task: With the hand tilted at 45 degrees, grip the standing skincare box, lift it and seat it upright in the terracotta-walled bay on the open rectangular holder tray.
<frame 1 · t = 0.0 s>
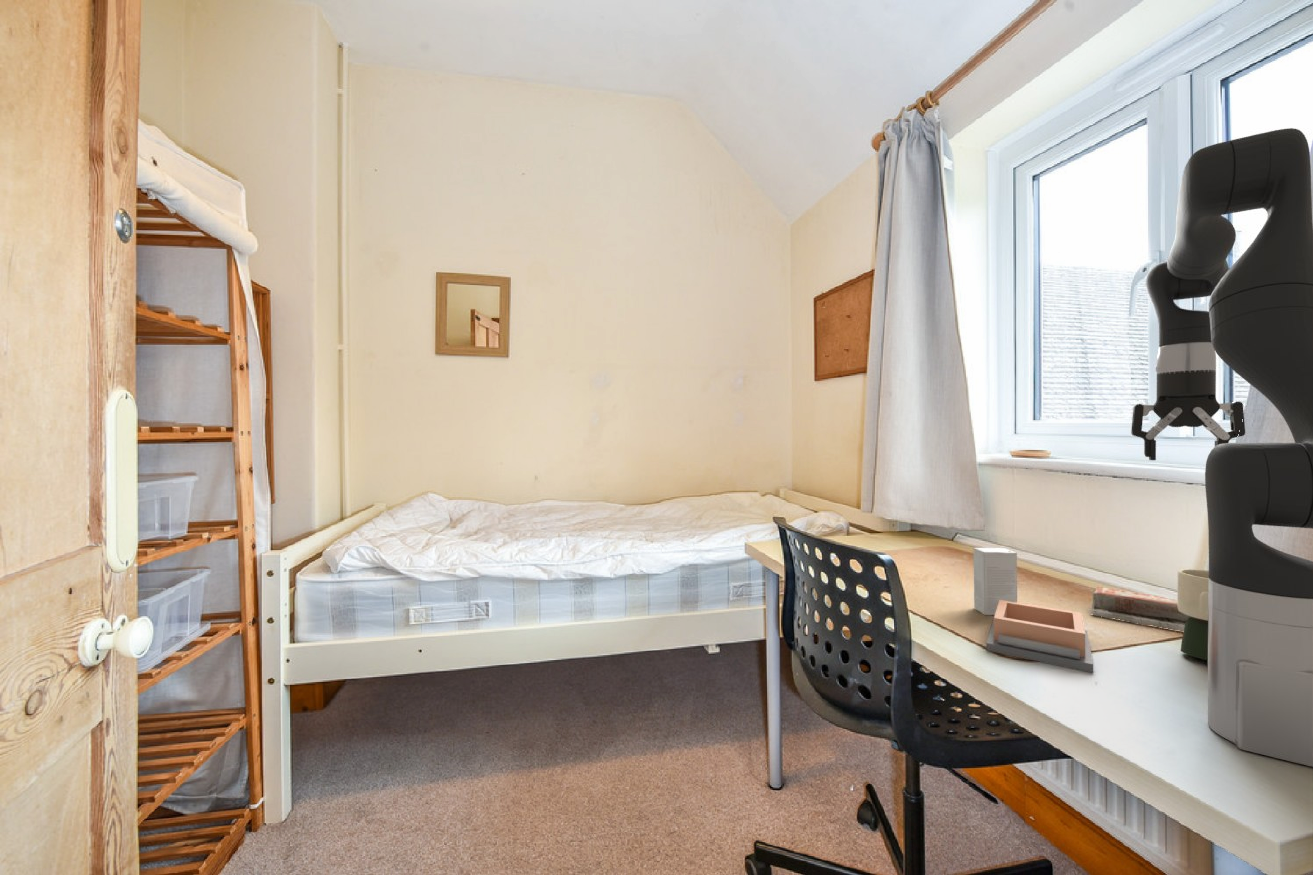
hand: (1184, 460, 95), 29 cm above the table, tool pointing down, fingers open, 8 cm apart
packaged product: (1155, 624, 97), on the table
skincare box: (994, 613, 101), on the table
open rectangular holder tray: (1038, 643, 86), on the table
character mug: (1209, 661, 80), on the table
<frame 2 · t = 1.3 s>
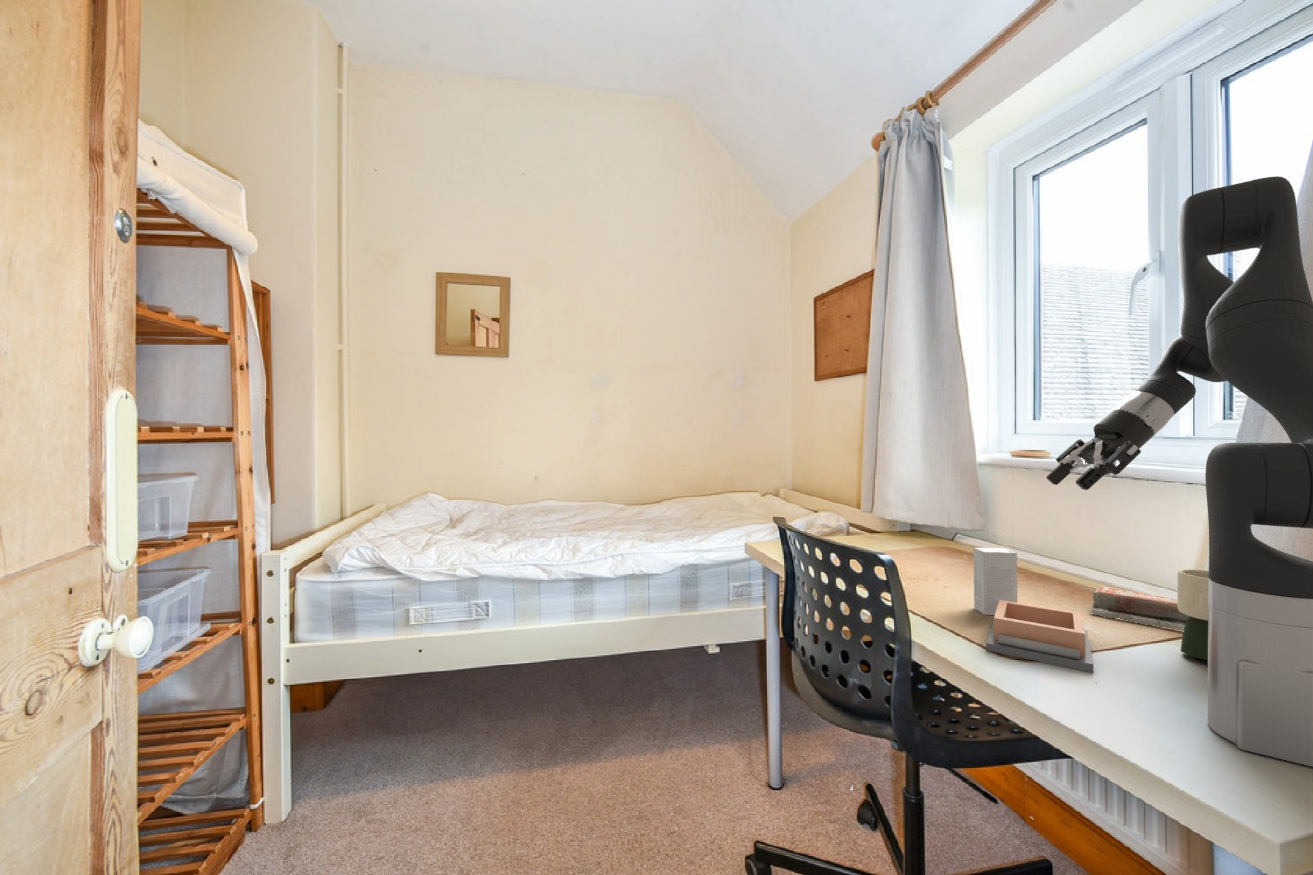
hand: (1065, 484, 98), 25 cm above the table, tool tilted 45°, fingers open, 8 cm apart
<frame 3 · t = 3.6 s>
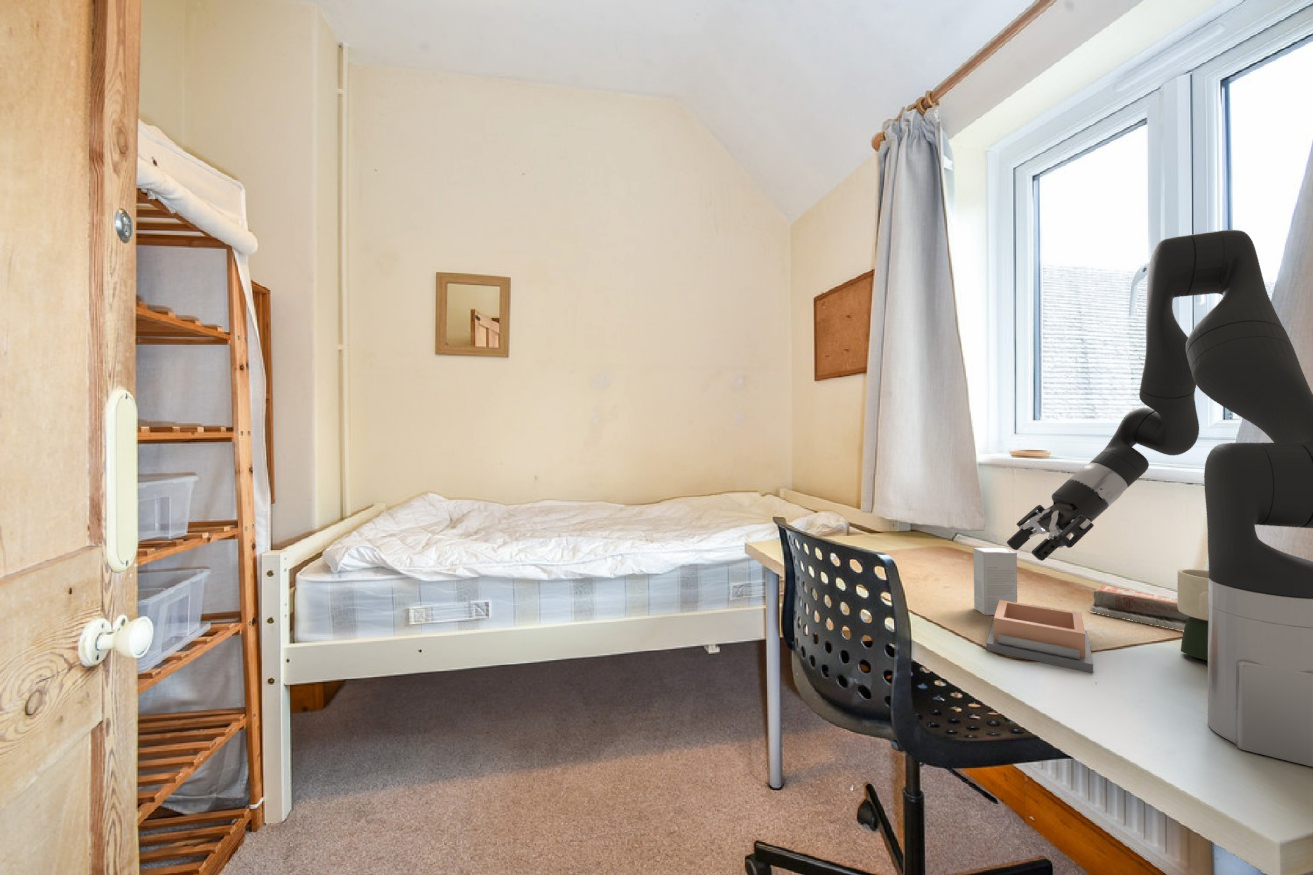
hand: (1022, 551, 101), 12 cm above the table, tool tilted 45°, fingers open, 8 cm apart
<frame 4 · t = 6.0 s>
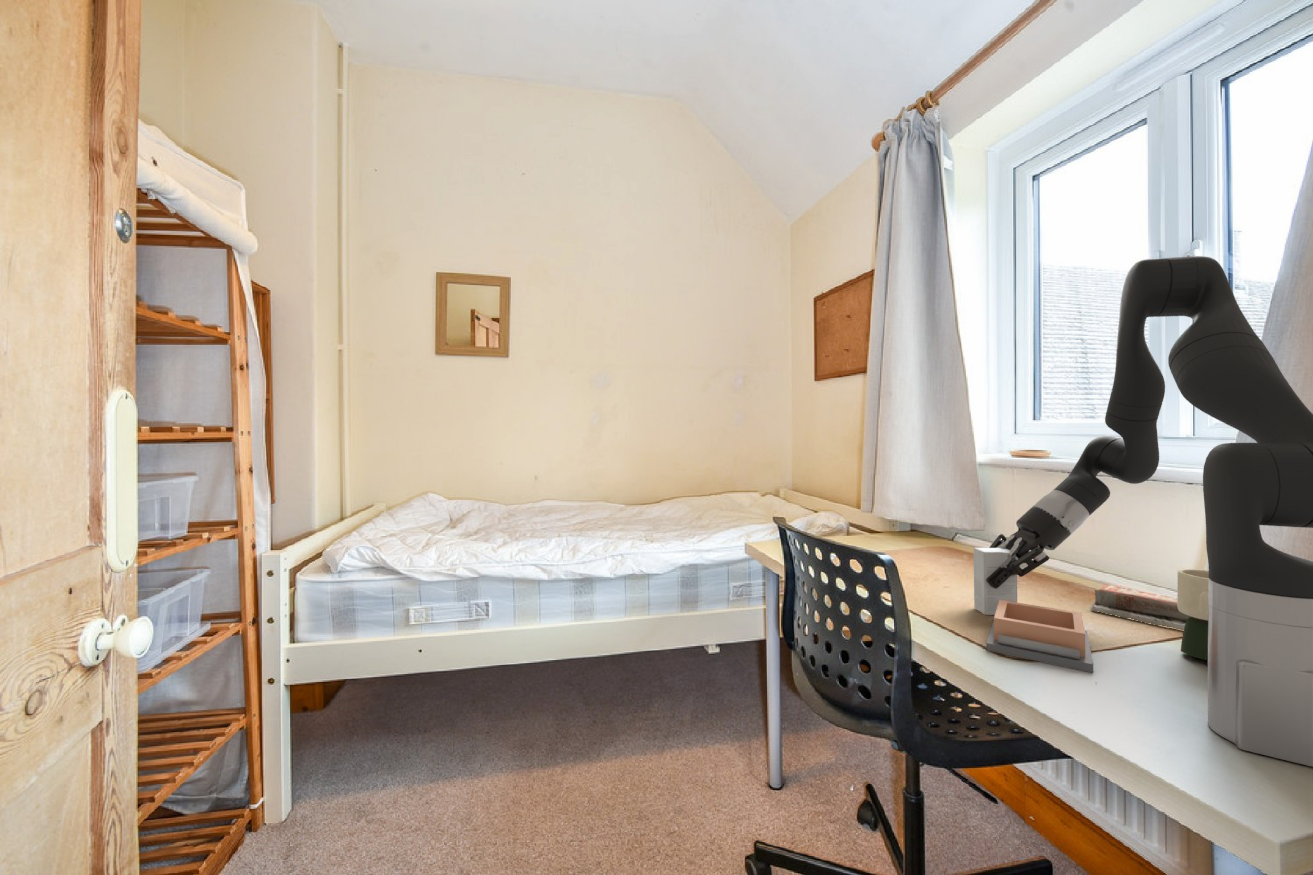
hand: (984, 580, 101), 6 cm above the table, tool tilted 45°, fingers closed on skincare box, 4 cm apart
skincare box: (994, 612, 101), on the table, touching gripper
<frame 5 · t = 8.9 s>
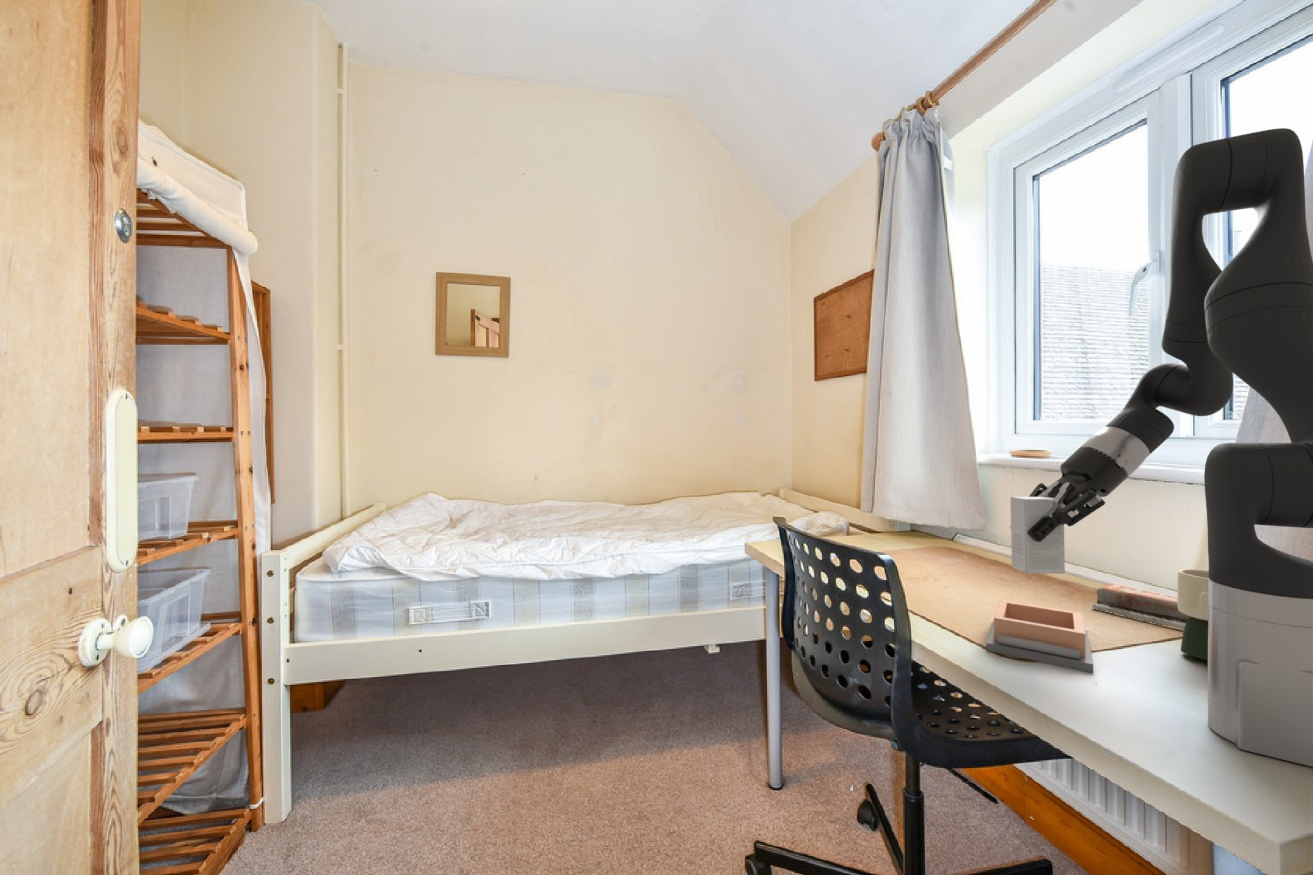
hand: (1024, 534, 86), 18 cm above the table, tool tilted 45°, fingers closed on skincare box, 4 cm apart
skincare box: (1036, 572, 86), point 12 cm above the table, touching gripper
when the fingers open (8 cm above the table, at t = 12.1 s): skincare box drops 1 cm, resting on open rectangular holder tray.
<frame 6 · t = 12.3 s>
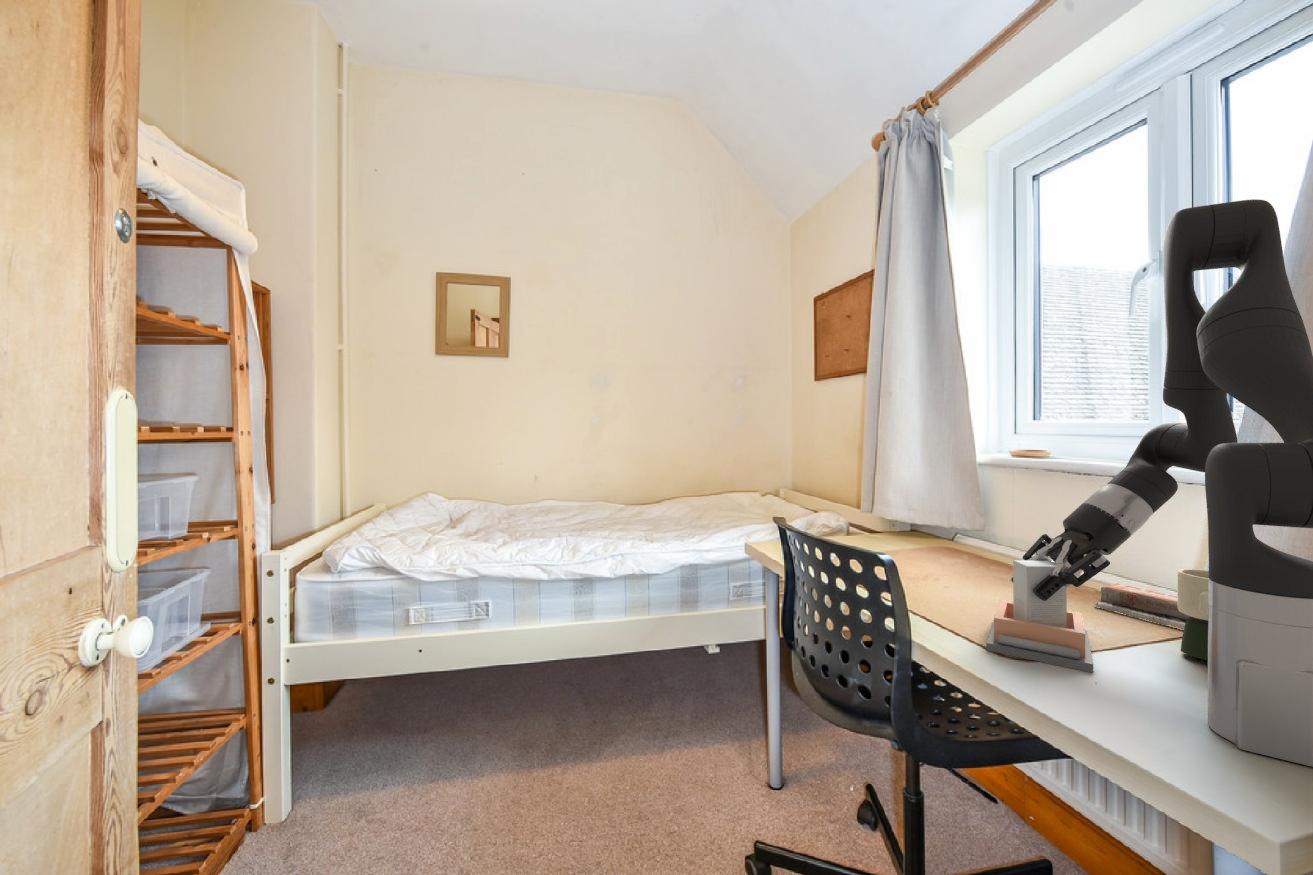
hand: (1026, 590, 86), 9 cm above the table, tool tilted 45°, fingers open, 5 cm apart
skincare box: (1038, 637, 86), point 1 cm above the table, touching open rectangular holder tray
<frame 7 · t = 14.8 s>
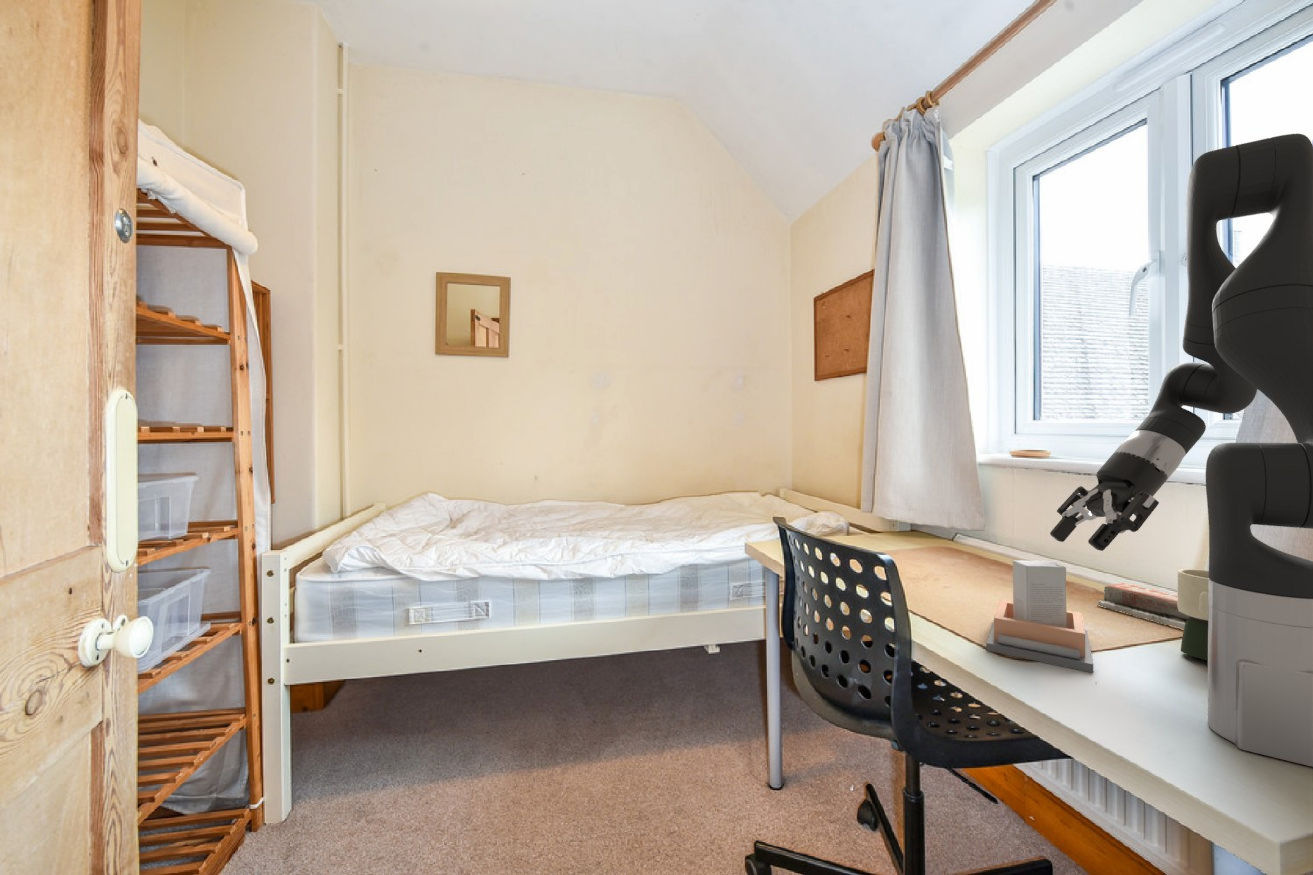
hand: (1074, 542, 85), 17 cm above the table, tool tilted 40°, fingers open, 8 cm apart
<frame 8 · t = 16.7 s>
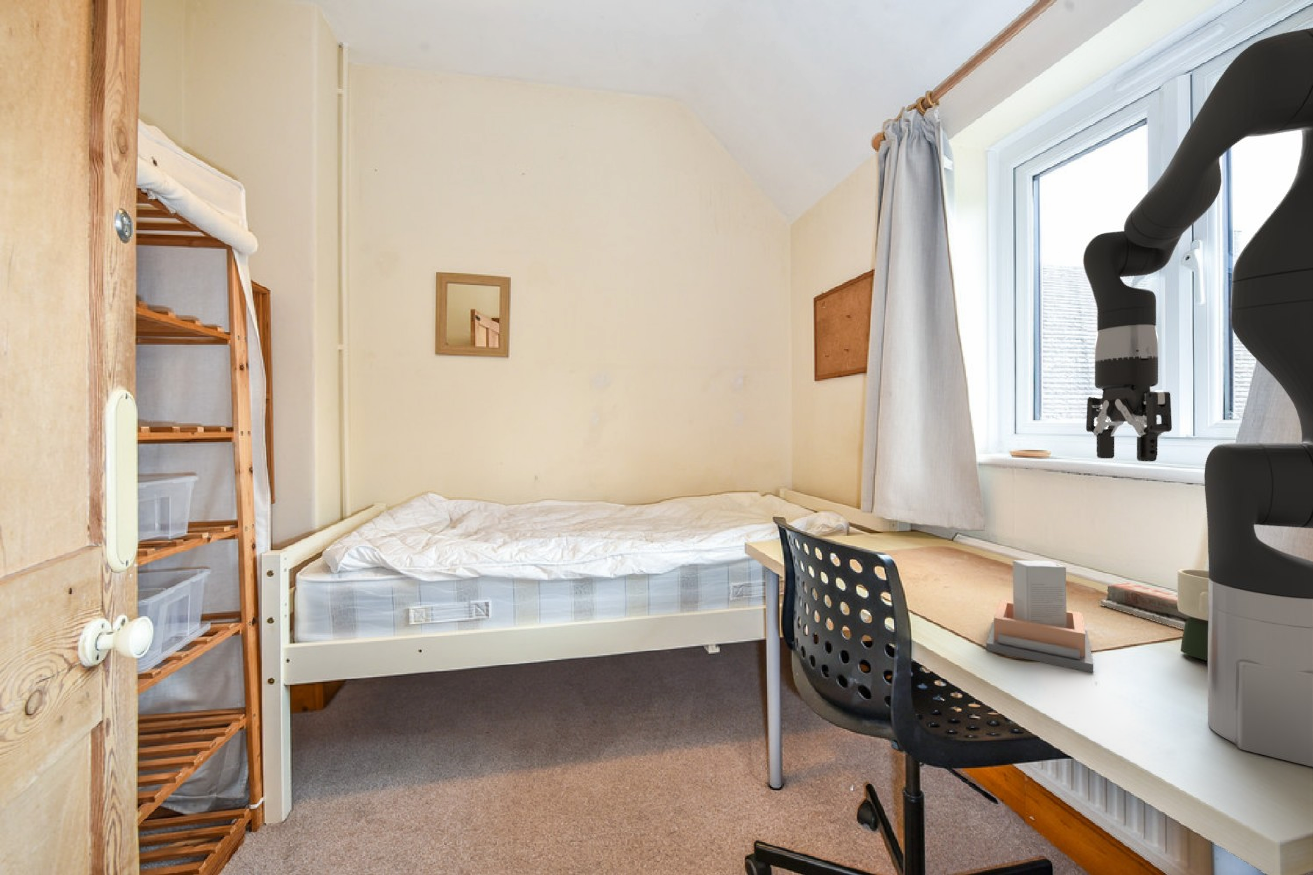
hand: (1125, 459, 84), 30 cm above the table, tool pointing down, fingers open, 8 cm apart
at the end: skincare box 0.2 cm off-centre on the open rectangular holder tray, point 1.0 cm above the open rectangular holder tray's base; skincare box tilted 0°; the gripper is holding nothing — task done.
